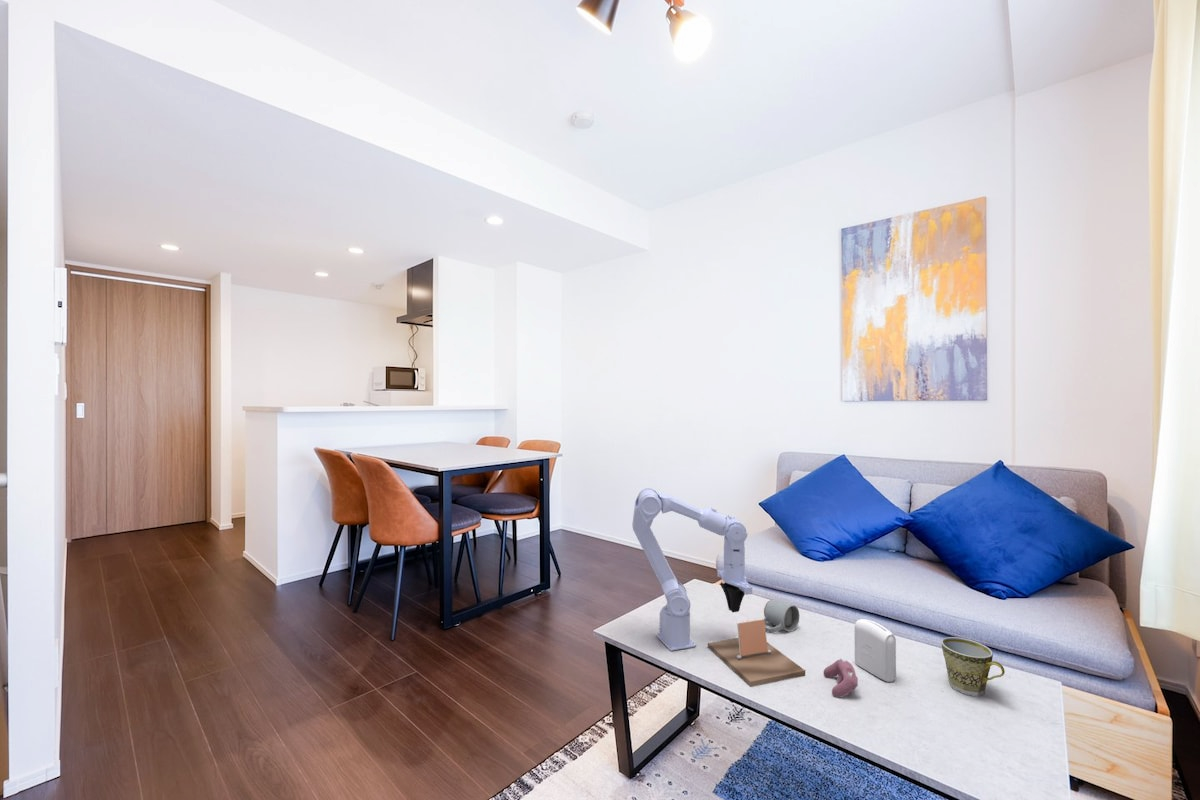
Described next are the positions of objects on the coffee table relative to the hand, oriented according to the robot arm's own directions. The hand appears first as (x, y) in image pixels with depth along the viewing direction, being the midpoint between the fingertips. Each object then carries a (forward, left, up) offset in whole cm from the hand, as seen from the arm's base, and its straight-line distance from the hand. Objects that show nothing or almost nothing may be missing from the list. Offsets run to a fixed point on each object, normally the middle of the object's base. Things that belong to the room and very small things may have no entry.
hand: (733, 610), depth 142 cm
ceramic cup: (+38, +41, -10) cm, 56 cm away
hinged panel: (+8, 0, -4) cm, 9 cm away
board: (+10, 0, -9) cm, 13 cm away
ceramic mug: (-4, +19, -10) cm, 21 cm away
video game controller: (+26, +13, -10) cm, 31 cm away
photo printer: (+24, +26, -10) cm, 36 cm away
